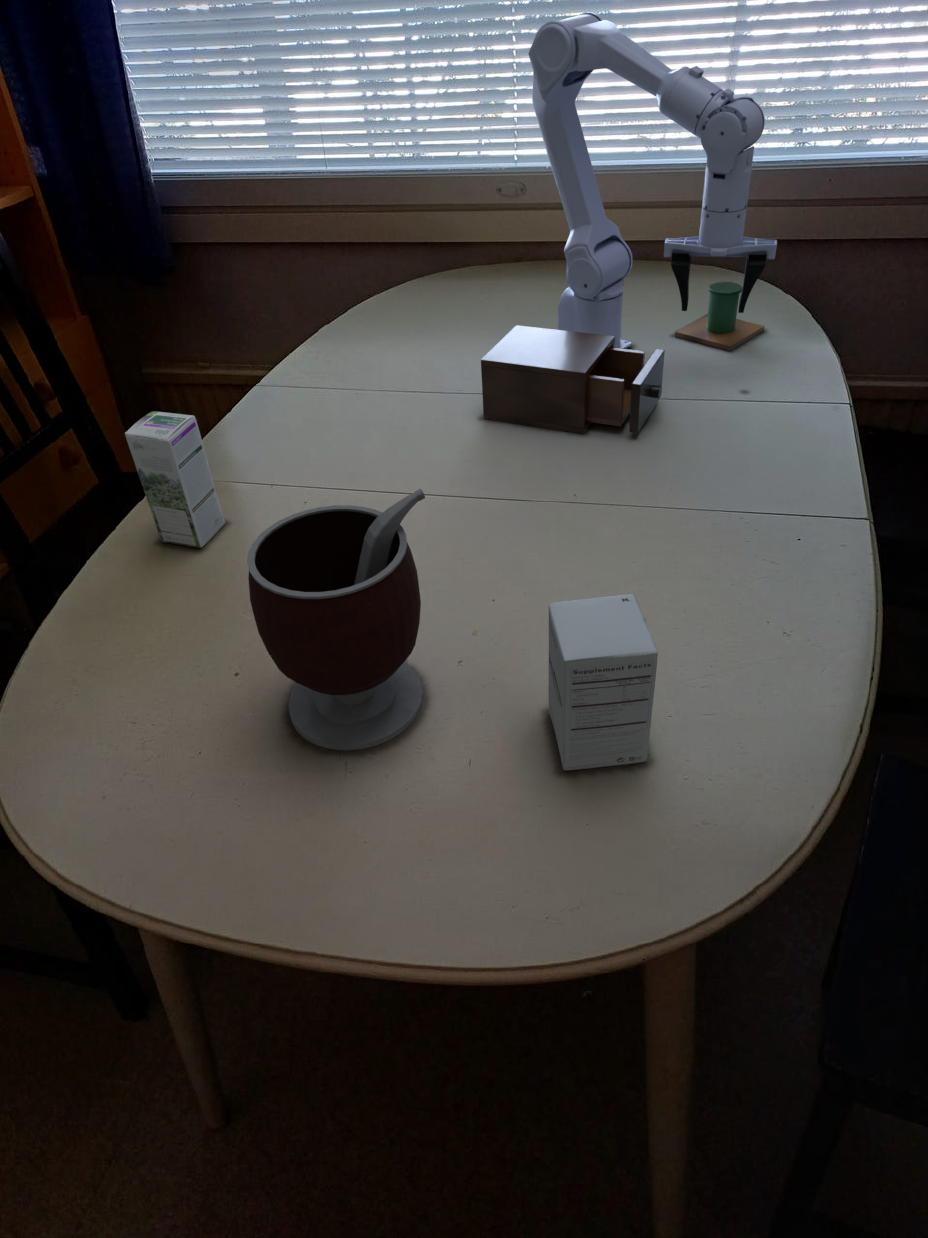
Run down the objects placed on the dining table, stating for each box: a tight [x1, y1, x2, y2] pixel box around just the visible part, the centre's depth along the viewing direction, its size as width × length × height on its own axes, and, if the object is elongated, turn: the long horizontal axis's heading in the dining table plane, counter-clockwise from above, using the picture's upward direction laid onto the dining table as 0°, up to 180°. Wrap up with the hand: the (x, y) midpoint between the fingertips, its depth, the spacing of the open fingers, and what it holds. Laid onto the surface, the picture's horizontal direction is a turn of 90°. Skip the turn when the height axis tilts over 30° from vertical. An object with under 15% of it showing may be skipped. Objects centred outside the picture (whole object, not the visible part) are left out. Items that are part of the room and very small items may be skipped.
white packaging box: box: [548, 593, 659, 771], centre depth 73 cm, size 7×7×13 cm
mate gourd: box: [246, 488, 426, 751], centre depth 77 cm, size 16×14×20 cm
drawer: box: [586, 347, 666, 434], centre depth 121 cm, size 15×11×7 cm
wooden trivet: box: [674, 313, 765, 352], centre depth 143 cm, size 10×10×1 cm
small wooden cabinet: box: [480, 324, 615, 435], centre depth 124 cm, size 15×13×9 cm
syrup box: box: [124, 410, 226, 549], centre depth 102 cm, size 6×6×14 cm
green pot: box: [706, 281, 743, 334], centre depth 140 cm, size 5×5×6 cm
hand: (712, 309), depth 126 cm, fingers open, 7 cm apart
